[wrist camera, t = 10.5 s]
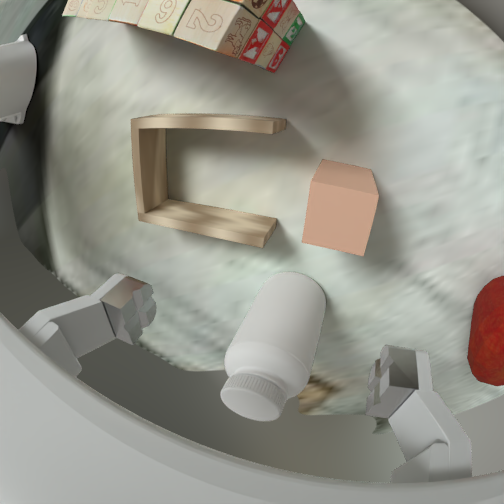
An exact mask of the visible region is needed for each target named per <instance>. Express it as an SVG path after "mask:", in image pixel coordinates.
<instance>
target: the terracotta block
mask: <svg viewBox="0 0 504 504" xmlns="http://www.w3.org/2000/svg"><path fill="white" fill-rule="evenodd" d="M378 198H379V194H378V190H377V187H376V184H375V180H374V177H373V174H372V171H371V169H367V168H363V167H358V166H354V165H349V164H344V163H339V162H334V161H329V160H324V159H323V160H322V161H321V163H320V165H319V167H318V169H317V171H316V173H315V174H314V176H313V178H312V180H311V184H310V191H309V198H308V205H307V212H306V218H305V225H304V231H303V238H302V243H307V244H311V245H316V246H320V247H325V248H329V249H334V250H338V251H342V252H347V253H351V254H356V255H360V256H364V253H365V249H366V245H367V242H368V238H369V235H370V231H371V227H372V223H373V219H374V215H375V211H376V207H377V203H378Z"/></svg>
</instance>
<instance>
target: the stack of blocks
mask: <svg viewBox="0 0 504 504" xmlns="http://www.w3.org/2000/svg"><path fill="white" fill-rule="evenodd" d="M62 16H74V17H81V18H87V19H96V20H104V21H111V22H119V23H125V24H130V25H135V26H138V27H139V28H144V29H148V30H152V31H156V32H160V33H163V34H167V35H170V36H174V37H175V38H178V39H182V40H185V41H188V42H191V43H194V44H196V45H199V46H202V47H205V48H207V49H210V50H213V51H216V52H219V53H222V54H225V55H228V56H231V57H235V58H237V59H240V60H242V61H245V62H248V63H251V64H254V65H256V66H258V67H261V68H263V69H265V70H268V71H270V72H273V73H275V71H276V70H277V68H278V66H279V65H280V63H281V61H282V60H283V58H284V56H285V54H286V53H287V51H288V49H289V48H290V45H291V44H292V42H293V40H294V39H295V37H296V36H297V34H298V32H299V31H300V29H301V28H302V26H303V25H304V23H305V20H304V18H303V16H302V14H301V12H300V11H299V10H298V8H297V7H296V5H295V3H294V1H293V0H68V2H67V5H66V7H65V10H64V12H63V15H62Z"/></svg>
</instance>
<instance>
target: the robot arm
mask: <svg viewBox="0 0 504 504" xmlns="http://www.w3.org/2000/svg"><path fill="white" fill-rule="evenodd" d="M36 69H37V60H36V52H35V49H34V46H33V45H32V44H31V43H30V42H29V41H28V37H27V35H26V34H25V35H21V36H20V37H19V39H18V40H17V41H16V42H14V43H9V44H4V45H0V121H4V122H9V123H15V124H22V123H23V122H24V118H25V113H26V109H27V107H28V104H29V102H30V100H31V97H32V94H33V90H34V85H35V79H36ZM152 294H153V289H152V285H150V284H148V283H145V282H143V281H140V280H137V279H135V278H132V277H129V276H126V275H124V274H121V273H116V274H114V275H113V276H112V277H111V278H110V279H108V280H107V281H106V282H105V283H104V284H103V285H102V286H101V287H99V288H98V289H97V290H96V291H95V292H94V293H93V294H92V295H90V296H89V295H85V296H82V297H79V298H77V299H73V300H70V301H67V302H64V303H61V304H58V305H55V306H52V307H49V308H46V309H43V310H40V311H38V312H37V313H36V314H35V315H34V316H33V317H32V318H31V319H30V320H28V321H27V322H26V323H25V324H24V325H23V326H22V327H21V328H20V329H19V330H17V329H16V328H15V327H14V326H13V325H12V324H11V323H10V322H9V321H8V320H7V319H6V318H5V317H4V316H3V315H2V314H1V313H0V504H504V470H502V471H498V472H494V473H490V474H485V475H480V476H474V477H472V452H471V440H470V439H469V437H468V436H467V434H466V433H465V431H464V430H463V428H462V427H461V425H460V424H459V422H458V421H457V420H456V418H455V416H454V415H453V414H452V412H451V411H450V409H449V408H448V406H447V405H446V404H445V402H444V401H443V399H442V398H441V396H440V395H439V394H438V392H434V391H433V382H432V374H431V367H430V360H429V354H428V352H427V351H424V350H417V349H411V348H404V347H398V346H392V345H385V346H384V347H383V349H382V351H381V358H380V359H378V360H376V361H375V363H374V364H373V366H372V369H371V372H370V375H369V380H368V388H369V390H370V391H371V393H370V395H369V396H368V397H367V405H366V415H369V416H375V417H382V418H389V419H388V420H389V423H390V425H391V427H392V429H393V432H394V434H395V436H396V438H397V441H398V443H399V445H400V447H401V450H402V452H403V454H404V457H405V459H406V461H407V462H406V463H404V464H403V465H401V466H399V467H398V468H396V469H395V470H394V471H392V475H391V481H390V483H375V482H374V483H373V482H359V481H348V480H338V479H331V478H324V477H317V476H311V475H306V474H300V473H295V472H290V471H286V470H281V469H277V468H273V467H269V466H265V465H261V464H257V463H254V462H251V461H247V460H244V459H240V458H237V457H234V456H231V455H228V454H225V453H222V452H219V451H217V450H214V449H211V448H208V447H205V446H203V445H201V444H198V443H196V442H193V441H191V440H188V439H185V438H183V437H181V436H179V435H176V434H174V433H172V432H169V431H168V430H166V429H163V428H161V427H159V426H157V425H155V424H153V423H151V422H149V421H147V420H145V419H143V418H141V417H140V416H137V415H136V414H134V413H132V412H130V411H128V410H127V409H125V408H123V407H121V406H120V405H118V404H116V403H115V402H113V401H111V400H110V399H108V398H106V397H105V396H103V395H101V394H100V393H98V392H97V391H95V390H94V389H92V388H90V387H89V386H88V385H86V384H85V383H83V382H82V381H80V380H79V379H77V378H76V376H77V375H78V374H79V373H80V371H81V370H82V369H81V368H82V367H81V365H80V363H79V362H78V360H77V359H76V358H78V357H80V356H82V355H84V354H86V353H88V352H90V351H92V350H94V349H96V348H98V347H100V346H102V345H104V344H106V343H108V342H110V341H112V340H114V339H115V337H116V338H118V339H121V340H122V341H125V342H127V343H129V344H131V345H133V344H134V343H135V342H136V341H137V340H138V338H139V337H140V336H141V335H142V334H143V328H144V327H146V326H149V325H150V324H151V322H152V321H153V320H154V317H155V315H156V302H155V301H154V299H153V298H152V297H151V296H152Z"/></svg>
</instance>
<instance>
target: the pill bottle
mask: <svg viewBox="0 0 504 504" xmlns="http://www.w3.org/2000/svg"><path fill="white" fill-rule="evenodd" d="M325 309H326V299H325V295H324V292H323V290H322V289H321V287H320V286H319V285H318V284H317V283H316V282H315V281H314V280H313V279H311V278H310V277H308V276H306V275H304V274H301V273H297V272H281V273H277V274H274V275H272V276H271V277H269V278H268V279H267V280H266V281H265V282H264V283H263V285H262V286H261V288H260V290H259V292H258V293H257V295H256V297H255V299H254V301H253V303H252V305H251V307H250V308H249V310H248V312H247V314H246V316H245V318H244V320H243V322H242V323H241V325H240V327H239V329H238V331H237V333H236V334H235V336H234V338H233V340H232V342H231V344H230V345H229V347H228V349H227V351H226V354H225V359H224V366H225V370H226V372H227V375H228V376H229V379H228V380H227V381H226V383H225V385H224V387H223V388H222V390H221V393H220V394H221V399H222V401H223V403H224V404H225V405H226V406H227V407H228V408H230V409H231V410H232V411H234V412H235V413H237V414H239V415H241V416H244V417H246V418H249V419H252V420H257V421H272V420H275V419H277V418H278V417H279V416H280V415H281V413H282V410H283V408H284V405H285V402H286V401H287V399H289V398H292V397H294V396H296V395H298V394H299V393H300V392H301V391H302V390H303V389H304V388H305V386H306V385H307V383H308V380H309V377H310V373H311V370H312V366H313V362H314V358H315V354H316V350H317V345H318V341H319V337H320V332H321V328H322V323H323V319H324V314H325Z"/></svg>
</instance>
